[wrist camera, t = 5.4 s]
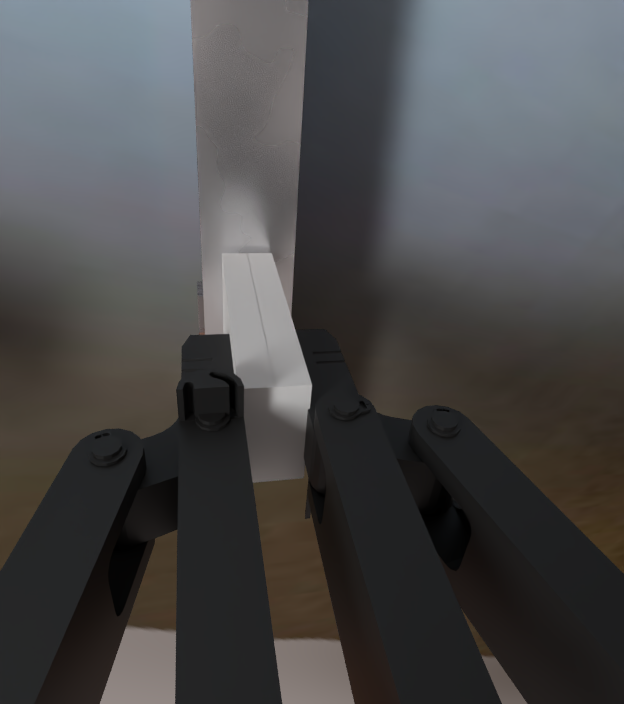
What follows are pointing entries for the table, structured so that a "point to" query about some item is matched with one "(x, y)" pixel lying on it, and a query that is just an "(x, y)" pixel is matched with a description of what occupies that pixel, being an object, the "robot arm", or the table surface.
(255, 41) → the bar
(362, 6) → the table surface
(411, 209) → the table surface
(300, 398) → the robot arm
